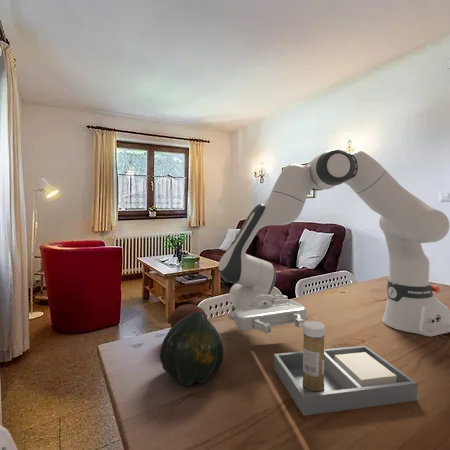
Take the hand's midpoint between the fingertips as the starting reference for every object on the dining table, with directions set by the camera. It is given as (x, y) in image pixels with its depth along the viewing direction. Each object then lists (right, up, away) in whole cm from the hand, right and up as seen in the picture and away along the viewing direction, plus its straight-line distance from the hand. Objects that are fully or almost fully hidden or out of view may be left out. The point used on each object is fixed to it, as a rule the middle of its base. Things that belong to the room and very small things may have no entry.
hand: (285, 326), depth 73 cm
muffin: (-26, -9, +14) cm, 31 cm away
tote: (+10, -10, -9) cm, 17 cm away
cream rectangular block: (+16, -9, -8) cm, 20 cm away
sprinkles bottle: (+4, -9, -10) cm, 14 cm away
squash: (-23, -10, -3) cm, 25 cm away
